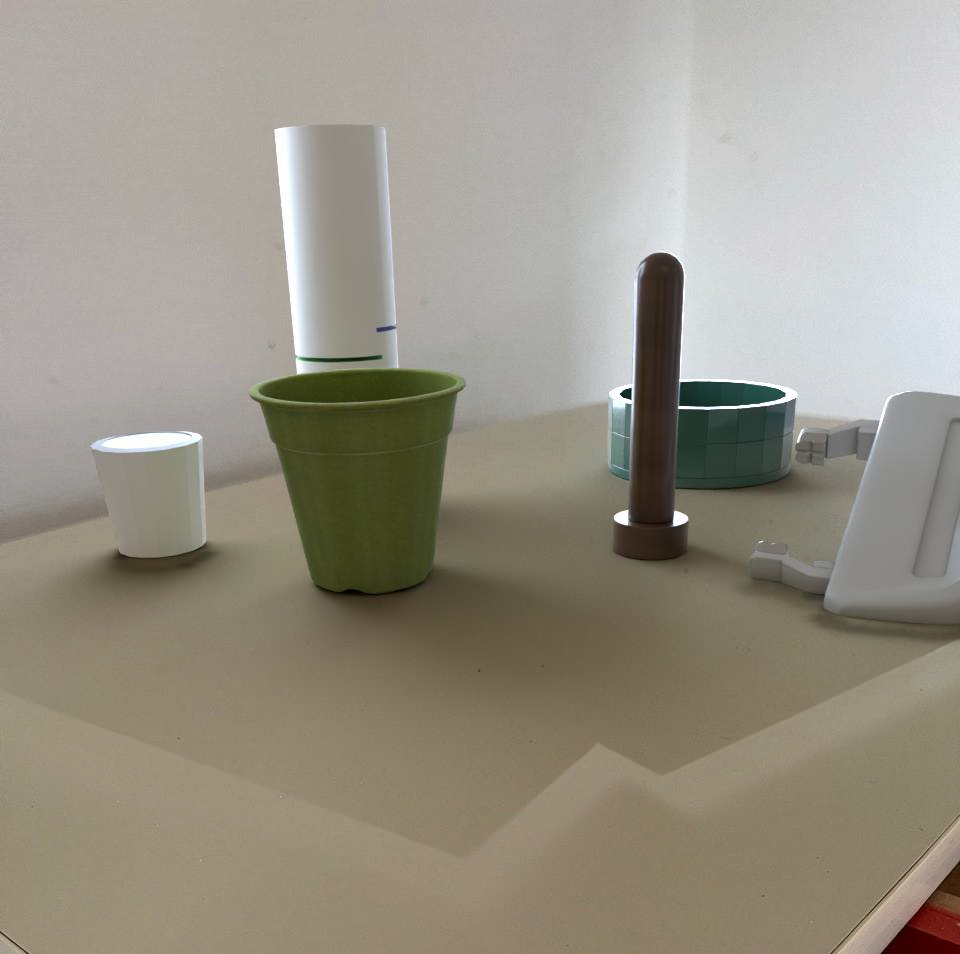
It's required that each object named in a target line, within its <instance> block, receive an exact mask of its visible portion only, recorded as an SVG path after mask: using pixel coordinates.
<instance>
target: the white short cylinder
mask: <svg viewBox="0 0 960 954" xmlns="http://www.w3.org/2000/svg"><path fill="white" fill-rule="evenodd" d="M203 439H204V438H203V436H202V435H200V434H199V433H196V432H191V431H183V430H182V431H181V430H148V431H147V430H146V431H139V432H130V433H125V434H118V435H114V436H110V437H105V438H102V439H99V440H96V441H95V442H93V443H92V444H90V449H91V453H92V456H93V461H94V464H95V468H96V472H97V476H98V478H99V482H100V486H101V490H102V494H103V497H104V501H105V504H106V509H107V512H108V517H109V521H110V523H111V528H112V531H113V534H114V538H115V543H116V545H117V550H118V552H119V554H121V555H124V556H126V557H130V558H140V559H152V558H165V557H172V556H179V555H183V554H186V553H189V552H193V551H195V550H197V549H199V548H201V547H203V546H204V545H205V544H206V543H207V522H206V497H205V495H206V493H205V471H204V470H205V468H204V466H205V465H204V443H203V441H204V440H203Z"/></svg>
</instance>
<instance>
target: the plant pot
mask: <svg viewBox="0 0 960 954" xmlns="http://www.w3.org/2000/svg"><path fill="white" fill-rule="evenodd" d="M466 386H467V380H466V379H465V377H463V376H462V375H460V374H455V373H453V372H452V373H451V372H448V371H442V370H434V369H424V368H411V367H410V368H409V367H408V368H406V367H399V368H359V369H341V370H328V371H319V372H310V373H300V374H297V373H295V374H289V375H283V376H282V375H281V376H279V377H274V378H270V379H267V380H264V381H261V382H259V383H256V384H254V385H252V386H251V387H250V388H249V390H248V394H249V397H250V398H251V399H252V400H253V401H254V402H257V403H259V405H260V409H261V411H262V415H263V418H264V421H265V425H266V428H267V432H268V435H269V439H270V440H271V442H272V443H273V444H275V449H276V452H277V456H278V459H279V463H280V467H281V470H282V474H283V478H284V482H285V484H286V485H285V486H286V489H287V493H288V496H289V500H290V503H291V506H292V507H291V508H292V511H293V515H294V520H295V523H296V526H297V531H298V534H299V537H300V541H301V545H302V548H303V553H304V557H305V560H306V564H307V568H308V572H309V576H310V578H311V580H312V581H313V583H315V584H316V586H319V587H320V588H323V589H326V590H327V591H331V592H334V593H343V592H344V591H346V590H356V591H359V592H362V593H364V594H372V595H379V594H380V595H381V594H389V593H392V592H394V591H399V590H403V589H410V588H412V587H414V586H416V585H418V584H420V583H422V582H423V581H425V580H426V579H427V577H428V575H429V573H430V572H432V571H433V570H434V564H435V555H436V547H437V538H438V537H437V536H438V528H439V521H440V520H439V519H440V511H441V503H442V493H443V486H444V485H443V484H444V475H445V467H446V459H447V450H448V444H449V435H450V434H451V433H452V431H453V428H454V421H455V413H456V406H457V401H458V393H461V391H463V390H464V388H466Z"/></svg>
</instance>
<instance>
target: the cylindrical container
mask: <svg viewBox="0 0 960 954" xmlns="http://www.w3.org/2000/svg"><path fill="white" fill-rule="evenodd" d="M386 130H387V129H386V127H384V126H380V125H372V124H348V123H347V124H308V125H294V126H293V125H292V126H286V127H280V128H276V129H274V137H275V148H276V158H277V170H278V179H279V180H278V181H279V191H280V201H281V202H280V203H281V214H282V225H283V234H284V235H283V236H284V245H285V246H284V247H285V255H286V256H285V257H286V266H287V267H286V268H287V277H288V278H287V279H288V289H289V290H288V291H289V298H290V310H291V323H292V332H293V343H294V353H295V356H296V357H295V365H296V374H300V373H310V372H319V371H328V370H341V369H359V368H400V365H399V348H398V347H399V345H398V329H397V327H396V326H395V325H397V312H396V311H397V310H396V296H395V295H396V294H395V276H394V275H395V274H394V255H393V239H392V222H391V221H392V220H391V203H390V188H389V187H390V185H389V168H388V166H389V165H388V148H387V131H386Z"/></svg>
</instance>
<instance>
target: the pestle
mask: <svg viewBox="0 0 960 954" xmlns="http://www.w3.org/2000/svg"><path fill="white" fill-rule="evenodd" d="M685 282H686V273H685V268H684V266H683V263H682V262H681V261H680V259H679V258H678V257H677V256H676V255H674V254H673V253H670V252H667V251H655V252H653V253H650V254H648V255H646V256H645V257H644V258H642V260H641V261H640V262H639V264H638V266H637V268H636V269H635V275H634V290H633V295H634V296H633V298H634V299H633V323H632V324H633V326H632V360H631V361H632V364H631V385H632V394H631V429H630V465H629V480H628V501H627V510H623V511H620V512H618V513H616V514H615V515H614V516H613V517H612V518H613V519H612V549H613V551H614V552H615V553H616V554H618V555H619V556H623V557H627V558H630V559H637V560H645V561H646V560H647V561H649V560H650V561H653V560H654V561H655V560H658V561H659V560H668V559H674V558H677V557H680V556H683V555H684V554H686V553H687V551H688V543H689V541H688V540H689V523H690V522H689V520H690V519H689V516H687V515H686V514H685V513H683V512H680V511H677V510H675V503H676V501H675V500H676V488H675V482H676V461H677V439H678V417H679V395H680V380H681V373H682V372H681V371H682V351H683V350H682V348H683V347H682V346H683V330H684V329H683V327H684V326H683V325H684V304H685V285H686V283H685Z"/></svg>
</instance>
